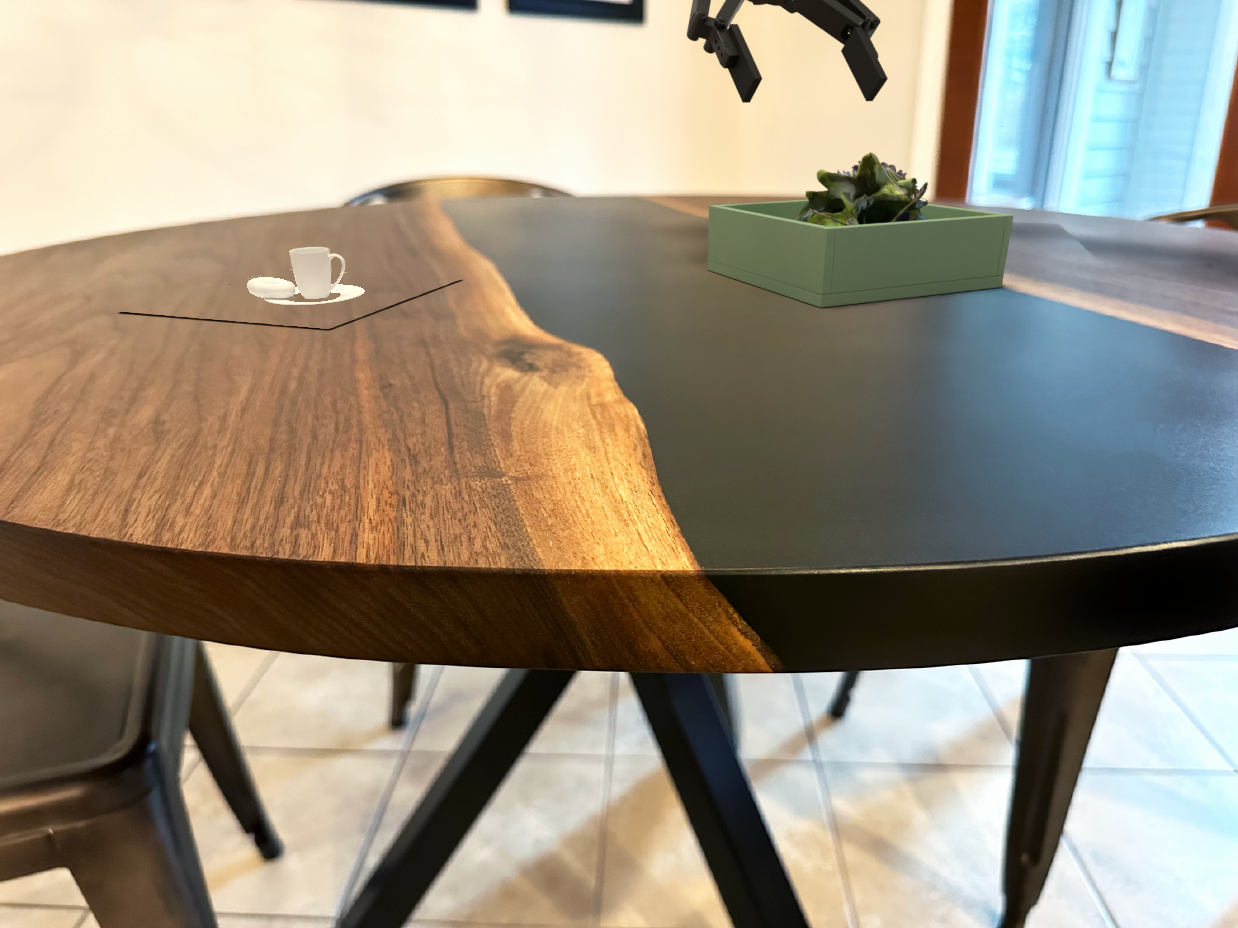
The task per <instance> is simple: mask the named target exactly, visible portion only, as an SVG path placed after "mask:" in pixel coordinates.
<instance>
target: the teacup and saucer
mask: <svg viewBox="0 0 1238 928" xmlns="http://www.w3.org/2000/svg"><path fill="white" fill-rule="evenodd" d="M330 252H331V251H330V248H329V247H326V246H325V247H323V246H307V247H306V246H305V247H298V248H293V249H290V250H288V255H289V259H290V264H291V270H293V273H294V277H295V281H296V284H297V287H295V285H294V284H293V283H292V282H290V281H287V280H284V279H280V278H273V277H258V278H253V277H252V278H253V279H251V280H249V281H248V283H247V288H248V290H249V292H250V293H251V294H253V295H255V296H257V297H261V298H264V300H265V301H267V302H269V303H273V304H280V305H316V304H326V303H334V302H340V301H345V300H349V299H353V298H356V297H359V296H361V295H362V294H364V292H365V290H364V289H363V288H361V287H358V286H353V285H343V284H338V283H339V282H340V280H341V278H342V276H343V274H344V273H345V270H346V261H345V258H344V257H343V256H341V255H340V254H338V253H330ZM334 258H337V259H339V260H340V262H341V271H340V272H341V273H340V276H339V278H338V279H337V281H336V282H335V283H334V284H331V272H332V263H331V262H332V261H331V260H333V259H334ZM330 292H331V293H340V294H341V295H340V296H339V297H337V298H336V299H333V300H328V301H321V302H294V301H289V300H287V299H286V298H290V297H291V296H292V297H293V295H294V294H298V293H301V295H302V296H303V297H304V298H305V299H319V298H327V297H328V296H329V294H330Z"/></svg>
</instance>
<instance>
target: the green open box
mask: <svg viewBox="0 0 1238 928" xmlns="http://www.w3.org/2000/svg"><path fill="white" fill-rule="evenodd" d="M808 202H809V200H808V199H797V200H796V199H795V200H783V201H782V200H777V201H761V202H760V201H759V202H745V203H729V204H728V203H727V204H711V205H708V224H707V228H708V229H707V260H706V261H707V262H706V264H707V265H706V270H707V271H710V272H713V273H716V274H717V275H718V274H719V275H721V276H725V277H728V278H731V279H733V280H737V281H739V282H743V283H745V284H749V285H751V286H755V287H757V288H761V289H763V290H767V291H770V292H773V293H776V294H779V295H780V296H781V295H782V296H783V297H787V298H791V299H793V300H797V301H799V302H802V303H805V304H808V305H811V306H814V307H817V308H821V309H823V308H831V307H839V306H847V305H856V304H858V305H859V304H865V303H866V304H867V303H875V302H884V301H892V300H901V299H910V298H918V297H919V298H920V297H928V296H936V295H944V294H953V293H963V292H970V291H971V292H972V291H979V290H989V289H998V288H1002V287H1003V282H1004V277H1005V275H1004V274H1005V269H1006V263H1007V258H1008V252H1009V245H1010V240H1011V233H1012V227H1013V222H1014V214H1010V213H1003V212H994V211H987V210H979V209H971V208H964V207H957V206H949V205H943V204H942V205H941V204H933V203H928V204H927V205H926V206H923V207H922V208H920V212H921V214H922V215H923V216H925V217H926V218H928V219H929V220H917V221H904V222H890V223H876V224H863V225H849V226H835V227H828V226H823V225H817V224H812V223H807V222H802V221H796V220H795V219H796V216H797V215H798V213H799V212H800V211H801V209H802V208H803V207H804V206H805V205H806V204H807V203H808Z"/></svg>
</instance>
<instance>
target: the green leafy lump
mask: <svg viewBox="0 0 1238 928" xmlns="http://www.w3.org/2000/svg"><path fill="white" fill-rule="evenodd" d="M857 163H858V164H854V165H853V166H851V169H852V170H851V171H849V170H848V171H845V170H844V169H842V172H841V171H840V170H839V169H837V170H836V171H837V172H830V171H827V170H826V169H823V168H819V169H818V170H817V172H816V180H817V181H818V182H819V183H820V185H822V186H823V187H824V188H825V189H826V190H818V191H816V190H805V194H804V196H805V198H807V200H809V202H808V203H807V204H806V205H805V206H804V207H803V208H802V209H801V211H800V212H799V213H798V215H797V216H796V219H795V220H796V221H802V222H807V223H812V224H817V225H823V226H828V227H835V226H849V225H863V224H876V223H890V222H904V221H917V220H929V219H928V218H926V217H925V216H923V215H922V214H921V212H920V208H922V207H923V206H926V205H927V204H929V200H927V199H926V198H924V197H923V196H924V195H925V193H926V192H927V190H928V186H929V182H928V181H927V182H925V183H923V185H922V186H921V188H918V185H917V184H918V180H917V178H916V177H909V178H906V176H907V174H908V172H903V170H902V169H899V170H898V171H897V167H896V165H895V164H888V163H886V162H885V161H880V159H879V158H878V156H877V155H876V154H875V153H873V152H871V151H870V152H869V153H866V154H864V155H863V156H862V157H861V160H858V161H857Z"/></svg>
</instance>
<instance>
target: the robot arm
mask: <svg viewBox="0 0 1238 928" xmlns="http://www.w3.org/2000/svg"><path fill="white" fill-rule="evenodd" d="M746 1H747V2H749V3H752V5H753V6H764V5H769V6H773V7H780V8H782V9H783V10H785V11H786V12H788V13H789V14H791V15H792V14H795V13H797V14H799V15H801V16H802V17H803V18H805V19H806V20H808V21H809V22H810V23H812V24H813V25H814V26H816V27H818V28H819V29H820V30H822V31H823V32H825V33H826V34H827V35H829V36H830V37H832V38H833V39H834V40H836V41H837V42H839V43H840V44H842V49H841V50H840V52H841V54H842V57H843V58H844V60H845V63H846V64H847V66H848V68H849V70H850V72H851V74H852V77H853V78H854V81H855V82H856V84H857V87H858V88H859V91H860V92H861V94H862V96H863V98H864V100H865V102H874V100H875V99H876V97H877V95H878V94H879V93H880V91H881V90H882V88H883V87H884V85H885V84H886V83H887V81H888V79H889V78H888V76H887V74H886V72H885V69H884V68H883V66H882V64H881V62H880V61H879V53H878V51H877V49H876V47H875V45H874V43H873V41H872V40H871V39H872V37H873V36H874V34H875V33H876V30H877V29H878V28H879V26H880V24H881V22H882V21H881V19H880V17H879V16H878V15H876V14H875V13H874V12H873V11H872V10H871V9H870V8H869V7H868V6H867V5H866V4H864V3H863V2H862V0H746ZM744 2H745V0H725V1H724V2H723V3H722V5H721V7H720V9H719V11H718V12H717V14H716V16H715V17H712V16H709V14H710V8H711V3H712V0H692V2H691V9H690V13H689V18H688V25H687V30H686V37H687V39H688V40H689V41H691V42H697V41H699V39H703V40H704V43H703V46H702V47H703V50H704V52H706V53H707V54H711V55H712V54H715V57H716V58H717V60H718V64H719V65H720V66H721V67H722V68H723V69H727V70H728V72H729V75H730V77H731V79H732V82H733V84H734V86H735V89H736V91H737V93H738V95H739V97H740V98H739V99H740V100H741V103H743V104H745V103H746V104H747V103H751V101H752V99H753V98H754V97H755V94H756V92H757V90H758V88H759V86H760V84H761V82H762V80H763V77H762V74H761V72H760V70H759V68H758V65H757V63H756V61H755V59H754V57H753V55H752V53H751V52H752V51H751V50H750V48H749V46H748V44H747V41H746V39H745V37H744V35H743V33H742V29H741V28H740V26H739V24H738V23H732V22H733V20H734V19H735V16H736V15H737V13H738V12H739V11H740V9H741V7H742V5H743V4H744Z"/></svg>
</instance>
